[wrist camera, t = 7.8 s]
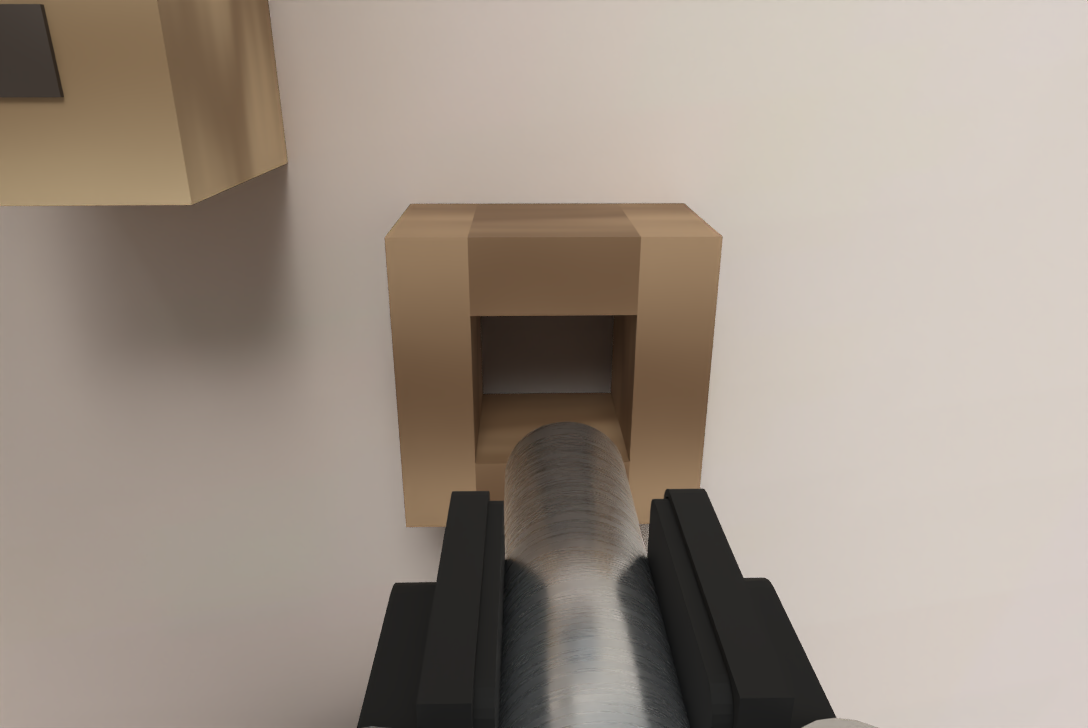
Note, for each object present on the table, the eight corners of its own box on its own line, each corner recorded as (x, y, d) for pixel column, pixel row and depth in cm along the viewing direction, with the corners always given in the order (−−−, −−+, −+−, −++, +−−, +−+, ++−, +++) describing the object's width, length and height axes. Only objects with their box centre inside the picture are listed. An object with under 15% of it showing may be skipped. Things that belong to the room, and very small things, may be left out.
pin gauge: (504, 422, 14) (463, 1199, 4) (627, 420, 14) (853, 1186, 4) (505, 527, 14) (473, 1378, 5) (622, 526, 14) (803, 1363, 5)
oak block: (34, -66, 17) (-208, -129, 11) (260, -65, 17) (132, -128, 11) (84, 163, 19) (-103, 207, 13) (288, 162, 19) (189, 206, 13)
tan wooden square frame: (410, 204, 19) (384, 238, 16) (684, 203, 20) (722, 236, 16) (425, 448, 22) (406, 527, 18) (666, 445, 22) (696, 523, 18)
